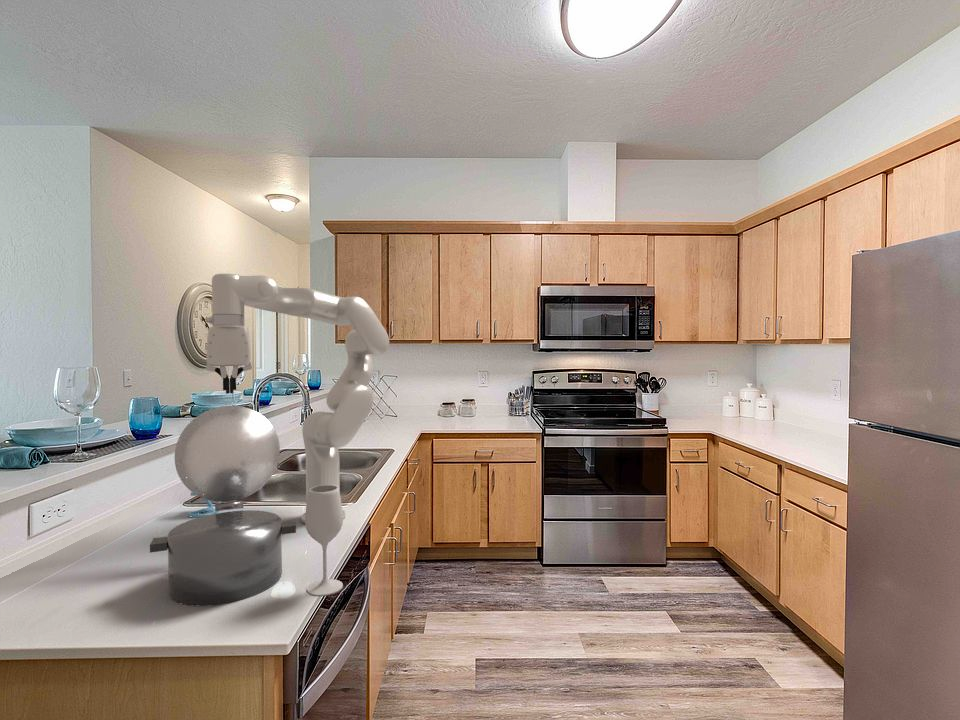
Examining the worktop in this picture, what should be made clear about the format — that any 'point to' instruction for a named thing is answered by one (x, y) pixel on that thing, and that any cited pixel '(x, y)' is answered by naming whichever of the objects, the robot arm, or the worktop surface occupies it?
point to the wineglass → (324, 530)
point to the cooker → (224, 556)
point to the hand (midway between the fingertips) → (229, 393)
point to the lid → (227, 455)
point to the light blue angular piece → (195, 513)
